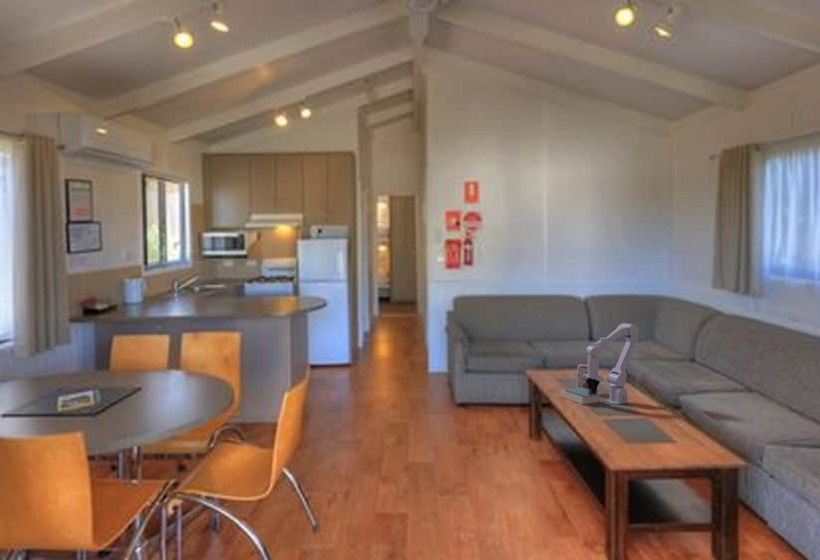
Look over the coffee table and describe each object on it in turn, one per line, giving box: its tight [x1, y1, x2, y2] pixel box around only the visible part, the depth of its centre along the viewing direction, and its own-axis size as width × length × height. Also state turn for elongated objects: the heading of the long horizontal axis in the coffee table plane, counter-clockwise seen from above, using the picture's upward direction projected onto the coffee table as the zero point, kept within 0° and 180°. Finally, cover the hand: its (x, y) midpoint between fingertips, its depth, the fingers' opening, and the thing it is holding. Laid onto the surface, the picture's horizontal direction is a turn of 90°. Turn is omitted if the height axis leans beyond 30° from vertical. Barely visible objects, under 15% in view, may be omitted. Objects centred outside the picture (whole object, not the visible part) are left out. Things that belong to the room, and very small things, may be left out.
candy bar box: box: [576, 363, 589, 389], centre depth 400 cm, size 11×5×16 cm, turn 84°
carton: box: [561, 389, 601, 406], centre depth 383 cm, size 18×12×4 cm, turn 26°
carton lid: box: [563, 387, 603, 397], centre depth 381 cm, size 18×12×4 cm, turn 26°
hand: (592, 392), depth 373 cm, fingers closed on carton lid
